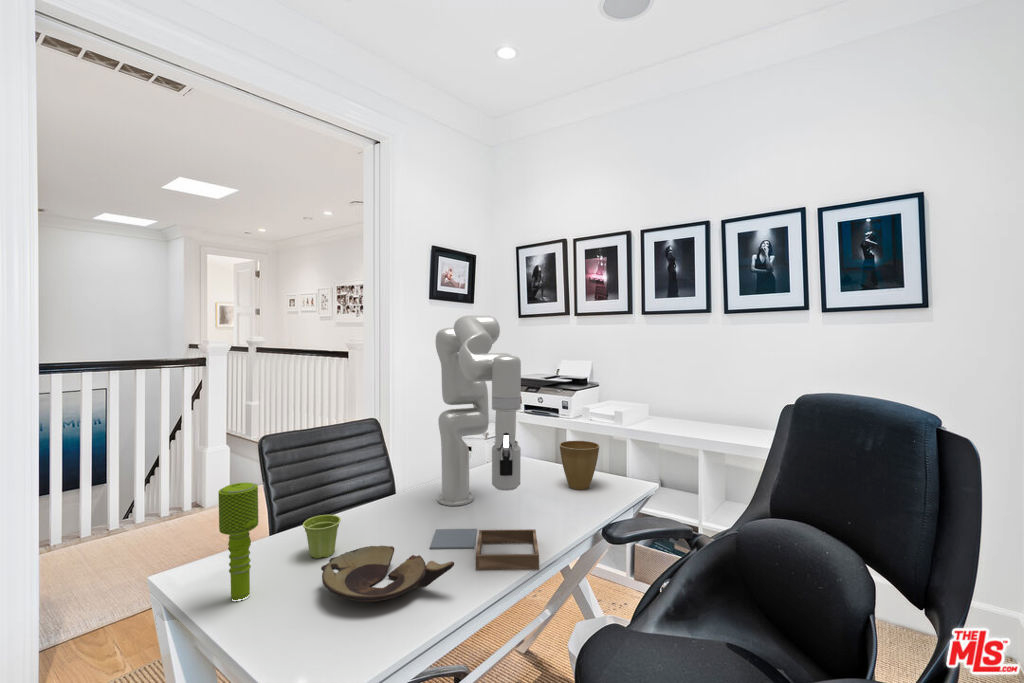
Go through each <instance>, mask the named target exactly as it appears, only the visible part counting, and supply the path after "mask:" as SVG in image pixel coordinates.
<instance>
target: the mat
mask: <svg viewBox="0 0 1024 683" xmlns="http://www.w3.org/2000/svg"><path fill="white" fill-rule="evenodd" d="M477 532H478V528H436V529H435V531H434V533H433V537H432V540H431V542H430V546H429V550H464V549H467V550H469V549H471V550H474V549H475V545H476V538H477Z"/></svg>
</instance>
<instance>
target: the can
mask: <svg viewBox="0 0 1024 683" xmlns="http://www.w3.org/2000/svg"><path fill="white" fill-rule="evenodd" d="M502 447H504V445H502ZM509 447H510V446H509ZM521 450H522V449H521V446H520V445H519V442H518V441H517V440H515V444H514V448H513V449H512V460H513V474H512V476H501V475H500V460H501V447H500V448H498V449H496V448H495V441H494V444H493V446H492V447H491V485H492V486H493V487H494V488H495V489H497V490H498V491H504V492H505V491H506V492H507V491H514V490H516V489H518V487H519V486H521V457H522V456H521V455H522V454H521ZM509 452H510V451H509ZM509 458H510V456H509ZM509 460H510V459H509Z"/></svg>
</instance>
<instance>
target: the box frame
mask: <svg viewBox="0 0 1024 683" xmlns="http://www.w3.org/2000/svg"><path fill="white" fill-rule="evenodd" d="M476 544H477V545H476V552H475V571H512V570H514V571H516V570H517V571H518V570H519V571H521V570H528V571H529V570H537V571H538V570H540V553H539V546H538V545H539V544H538V539H537V530H536V528H535V529H479V530H478V538H477V543H476ZM483 544H485V545H486V544H487V545H489V544H491V545H492V544H496V545H497V544H498V545H499V544H503V545H504V544H532V547H533V549H532V550H533V553H515V554H514V553H510V554H509V553H507V554H505V553H500V554H497V553H496V554H493V553H492V554H491V553H490V554H482V547H483Z"/></svg>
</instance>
